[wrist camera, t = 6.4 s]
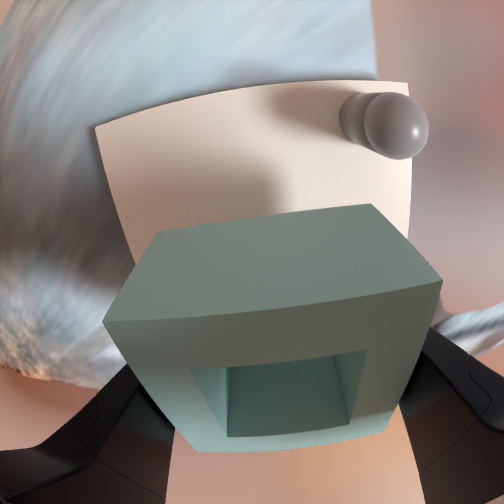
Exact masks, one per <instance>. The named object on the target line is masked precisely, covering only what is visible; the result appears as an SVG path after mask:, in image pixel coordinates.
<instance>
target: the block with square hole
mask: <svg viewBox="0 0 504 504" xmlns="http://www.w3.org/2000/svg"><path fill="white" fill-rule="evenodd" d="M442 282H443V280H442V278H441V277H440V276H439V275H438V274H437V273H436V271H435V270H434V269H433V268H432V267H431V266H430V265H429V263H428V262H427V261H426V260H425V259H424V257H423V256H422V255H421V254H420V253H419V252H418V251H417V250H416V249H415V248H414V246H413V245H412V244H411V243H410V242H409V241H408V240H407V239H406V238H405V237H404V236H403V235H402V234H401V233H400V232H399V231H398V230H397V228H396V227H395V226H394V225H393V224H392V223H391V222H390V221H389V220H388V219H387V218H386V217H385V216H384V215H383V214H382V213H381V212H380V211H379V210H378V209H376V208H375V207H374V206H373V205H372V204H371V203H369V204H359V205H349V206H339V207H330V208H321V209H313V210H304V211H296V212H288V213H280V214H272V215H265V216H257V217H250V218H243V219H235V220H228V221H222V222H215V223H208V224H202V225H195V226H189V227H182V228H176V229H170V230H164V231H158V232H157V233H156V235H155V236H154V238H153V239H152V241H151V242H150V244H149V245H148V247H147V248H146V250H145V251H144V253H143V254H142V256H141V257H140V259H139V261H138V262H137V264H136V265H135V267H134V268H133V270H132V272H131V273H130V275H129V276H128V278H127V280H126V281H125V283H124V285H123V286H122V288H121V289H120V291H119V293H118V294H117V296H116V298H115V300H114V301H113V303H112V305H111V306H110V308H109V310H108V312H107V313H106V315H105V317H104V319H103V320H102V322H103V324H104V326H105V328H106V329H107V331H108V333H109V334H110V336H111V338H112V339H113V341H114V343H115V344H116V346H117V348H118V349H119V351H120V352H121V354H122V356H123V357H124V359H125V360H126V362H127V363H128V365H129V366H130V368H131V369H132V371H133V372H134V374H135V375H136V377H137V378H138V379H139V381H140V382H141V384H142V385H143V387H144V388H145V389H146V391H147V392H148V393H149V395H150V396H151V397H152V399H153V400H154V401H155V403H156V404H157V405H158V407H159V408H160V409H161V410H162V412H163V413H164V414H165V416H166V417H167V418H168V419H169V420H170V422H171V423H172V424H173V425H174V427H175V428H176V429H177V430H178V431H179V432H180V433H181V435H182V436H183V437H184V438H185V439H186V440H187V442H188V443H189V444H190V445H191V446H192V447H193V448H194V449H195V450H196V451H199V452H256V451H257V452H258V451H274V450H285V449H294V448H303V447H310V446H317V445H324V444H330V443H335V442H340V441H346V440H351V439H355V438H360V437H364V436H368V435H372V434H376V433H380V432H383V431H384V429H385V427H386V426H387V424H388V422H389V420H390V418H391V416H392V414H393V412H394V410H395V409H396V407H397V404H398V403H399V400H400V398H401V396H402V394H403V392H404V390H405V388H406V386H407V383H408V381H409V379H410V377H411V374H412V372H413V370H414V367H415V365H416V362H417V360H418V357H419V355H420V352H421V349H422V347H423V344H424V341H425V338H426V336H427V333H428V330H429V327H430V324H431V321H432V318H433V314H434V311H435V308H436V305H437V301H438V298H439V294H440V290H441V286H442Z"/></svg>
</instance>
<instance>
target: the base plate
mask: <svg viewBox="0 0 504 504" xmlns="http://www.w3.org/2000/svg"><path fill="white" fill-rule="evenodd" d="M95 131H96V136H97V140H98V145H99V149H100V153H101V157H102V161H103V165H104V169H105V172H106V176H107V180H108V183H109V187H110V190H111V193H112V197H113V200H114V203H115V207H116V210H117V213H118V216H119V219H120V222H121V225H122V228H123V231H124V234H125V237H126V240H127V243H128V245H129V248H130V251H131V254H132V256H133V259H134V262H135V264H137V262H138V261H139V259H140V257H141V256H142V254H143V253H144V251H145V250H146V248H147V247H148V245H149V244H150V242H151V241H152V239H153V238H154V236H155V235H156V233H157V232H158V231H164V230H170V229H176V228H182V227H189V226H195V225H202V224H208V223H215V222H222V221H228V220H235V219H243V218H250V217H257V216H265V215H272V214H280V213H288V212H296V211H304V210H313V209H321V208H330V207H339V206H349V205H359V204H369V203H371V204H372V205H373V206H374V207H375V208H376V209H378V210H379V211H380V212H381V213H382V214H383V215H384V216H385V217H386V218H387V219H388V220H389V221H390V222H391V223H392V224H393V225H394V226H395V227H396V228H397V230H398V231H399V232H400V233H401V234H402V235H403V236H404V237H405V238H406V239H407V236H408V226H409V214H410V199H411V173H412V172H411V171H412V170H411V169H412V168H411V167H412V157H413V156H415V155H416V154H418V153H419V152H420V151H421V150H422V149H423V147H424V146H425V144H426V142H427V139H428V134H429V127H428V121H427V118H426V115H425V114H424V111H423V110H422V108H421V107H420V106H419V105H418V103H416V102H415V101H414V100H413V99H411V98H410V97H409V93H408V83H400V82H386V81H366V80H326V81H305V82H291V83H280V84H270V85H262V86H254V87H247V88H240V89H234V90H228V91H222V92H217V93H212V94H207V95H202V96H197V97H193V98H188V99H184V100H180V101H176V102H172V103H168V104H164V105H161V106H157V107H154V108H150V109H147V110H143V111H140V112H137V113H134V114H131V115H128V116H125V117H122V118H119V119H116V120H113V121H110V122H107V123H105V124H102V125H99V126H97V127H95Z"/></svg>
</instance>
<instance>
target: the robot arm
mask: <svg viewBox="0 0 504 504" xmlns="http://www.w3.org/2000/svg"><path fill="white" fill-rule="evenodd" d="M398 404H399V407H400V410H401V413H402V416H403V419H404V422H405V425H406V429H407V432H408V436H409V439H410V442H411V446H412V449H413V453H414V457H415V460H416V464H417V468H418V472H419V473H420V474H419V477H420V481H421V485H422V490H423V494H424V499H425V503H426V504H504V377H503V376H501V375H500V374H498V373H496V372H495V371H493V370H491V369H490V368H488V367H487V366H485V365H484V364H483V363H481V362H480V361H478V360H477V359H475V358H474V357H473V356H471V355H468V353H467V352H466V351H464V350H463V349H461V348H460V347H459V346H457V345H456V344H454V343H453V342H451V341H450V340H449V339H447V338H446V337H444V336H443V335H441V334H440V333H439V332H437V331H436V330H434V329H433V328H431V327H429V330H428V333H427V336H426V338H425V341H424V344H423V347H422V349H421V352H420V355H419V357H418V360H417V362H416V365H415V367H414V370H413V372H412V374H411V377H410V379H409V381H408V383H407V386H406V388H405V390H404V392H403V394H402V396H401V398H400V400H399V403H398ZM174 432H175V427H174V425H173V424H172V423H171V422H170V420H169V419H168V418H167V417H166V416H165V414H164V413H163V412H162V410H161V409H160V408H159V407H158V405H157V404H156V403H155V401H154V400H153V399H152V397H151V396H150V395H149V393H148V392H147V391H146V389H145V388H144V387H143V385H142V384H141V382H140V381H139V379H138V378H137V377H136V375H135V374H134V372H133V371H132V369H131V368H130V366H129V365H128V363H127V364H126V365H125V366H124V367H123V368H122V369H121V370H120V371H119V372H118V373H117V374H116V375H115V376H114V377H113V378H112V379H111V380H110V381H109V382H108V383H107V384H106V385H105V386H104V387H103V388H102V389H101V390H100V391H99V392H98V393H97V394H96V396H95V397H93V398H92V399H91V400H90V401H89V402H88V403H87V404H86V405H85V406H84V407H83V408H82V409H81V410H80V411H79V412H78V413H77V414H76V415H75V416H74V417H72V418H71V419H70V420H69V421H68V422H67V423H66V424H64V425H63V426H62V427H61V428H60V429H58V430H57V431H56V432H55V433H54V434H52V435H51V436H50V437H49V438H48V439H46V440H45V441H44V442H42V443H41V444H39V445H37V446H35V447H31V448H25V449H16V450H5V451H0V504H165V501H166V499H165V498H166V491H167V483H168V474H169V467H170V460H171V452H172V445H173V439H174Z"/></svg>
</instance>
